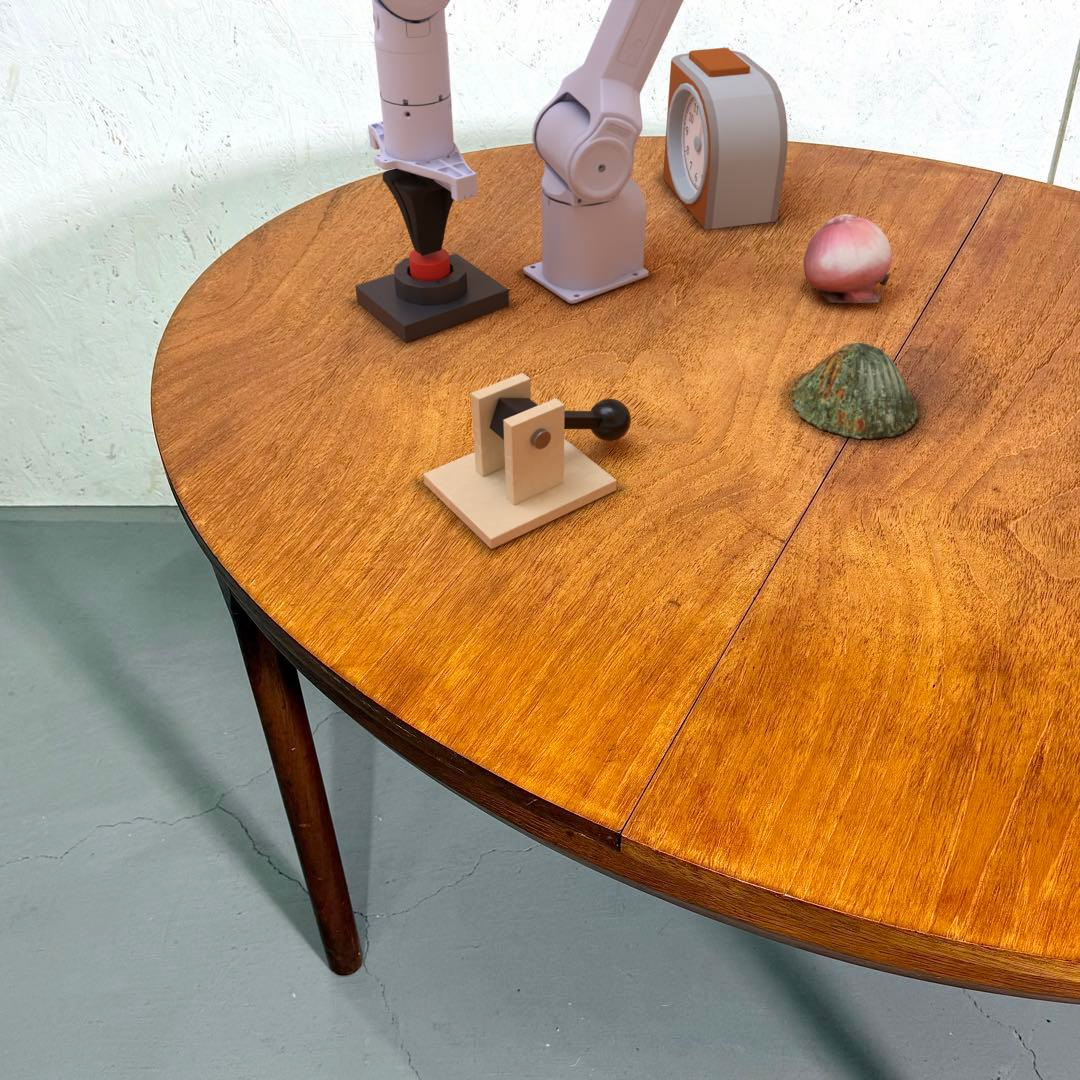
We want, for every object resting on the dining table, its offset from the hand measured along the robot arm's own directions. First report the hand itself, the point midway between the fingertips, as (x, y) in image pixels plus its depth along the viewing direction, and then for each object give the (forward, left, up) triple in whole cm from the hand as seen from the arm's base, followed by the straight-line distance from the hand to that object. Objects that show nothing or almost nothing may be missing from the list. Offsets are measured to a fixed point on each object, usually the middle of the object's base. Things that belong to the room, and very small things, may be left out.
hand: (428, 250), depth 95 cm
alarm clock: (-37, -2, -6) cm, 37 cm away
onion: (-32, +21, -6) cm, 39 cm away
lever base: (+9, +27, -5) cm, 29 cm away
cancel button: (0, 0, -2) cm, 2 cm away
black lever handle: (+5, +27, -3) cm, 28 cm away
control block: (0, 0, -5) cm, 5 cm away
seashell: (-19, +34, -6) cm, 39 cm away
